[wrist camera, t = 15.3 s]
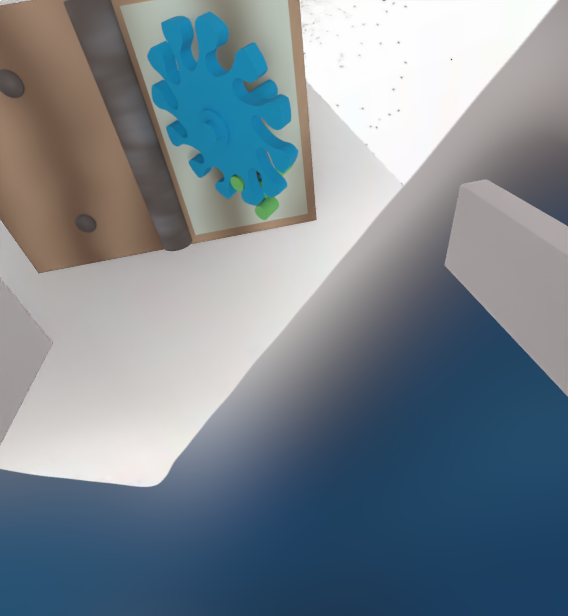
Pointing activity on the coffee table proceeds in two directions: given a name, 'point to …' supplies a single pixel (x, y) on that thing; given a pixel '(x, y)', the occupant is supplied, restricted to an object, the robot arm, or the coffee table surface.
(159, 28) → the hinge board
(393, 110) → the coffee table surface
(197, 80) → the gear
